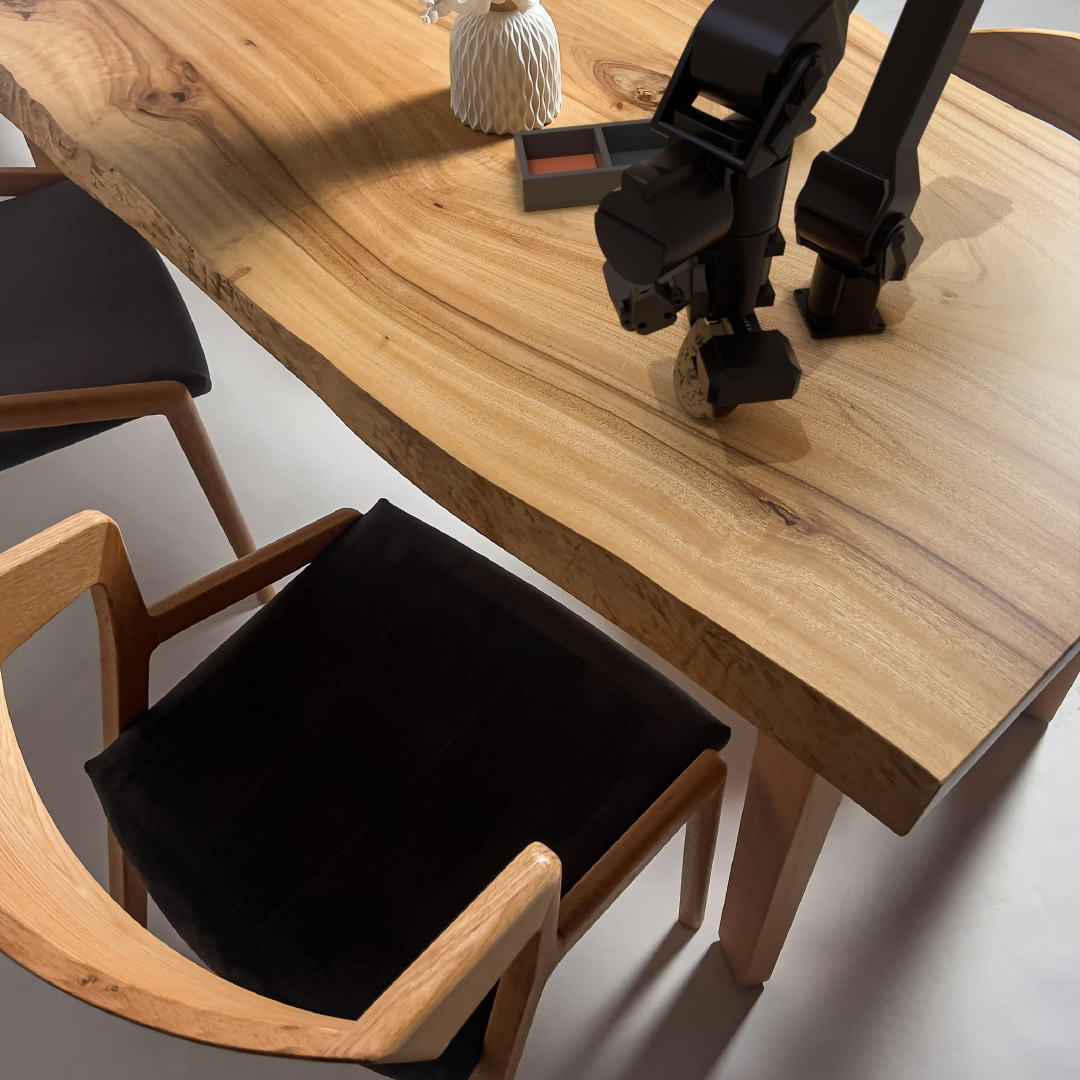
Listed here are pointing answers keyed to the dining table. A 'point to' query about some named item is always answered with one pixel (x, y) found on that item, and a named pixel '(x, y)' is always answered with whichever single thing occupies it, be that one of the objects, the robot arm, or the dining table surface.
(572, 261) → the dining table surface
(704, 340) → the decorative egg
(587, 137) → the egg tray
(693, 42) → the robot arm
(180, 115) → the dining table surface
